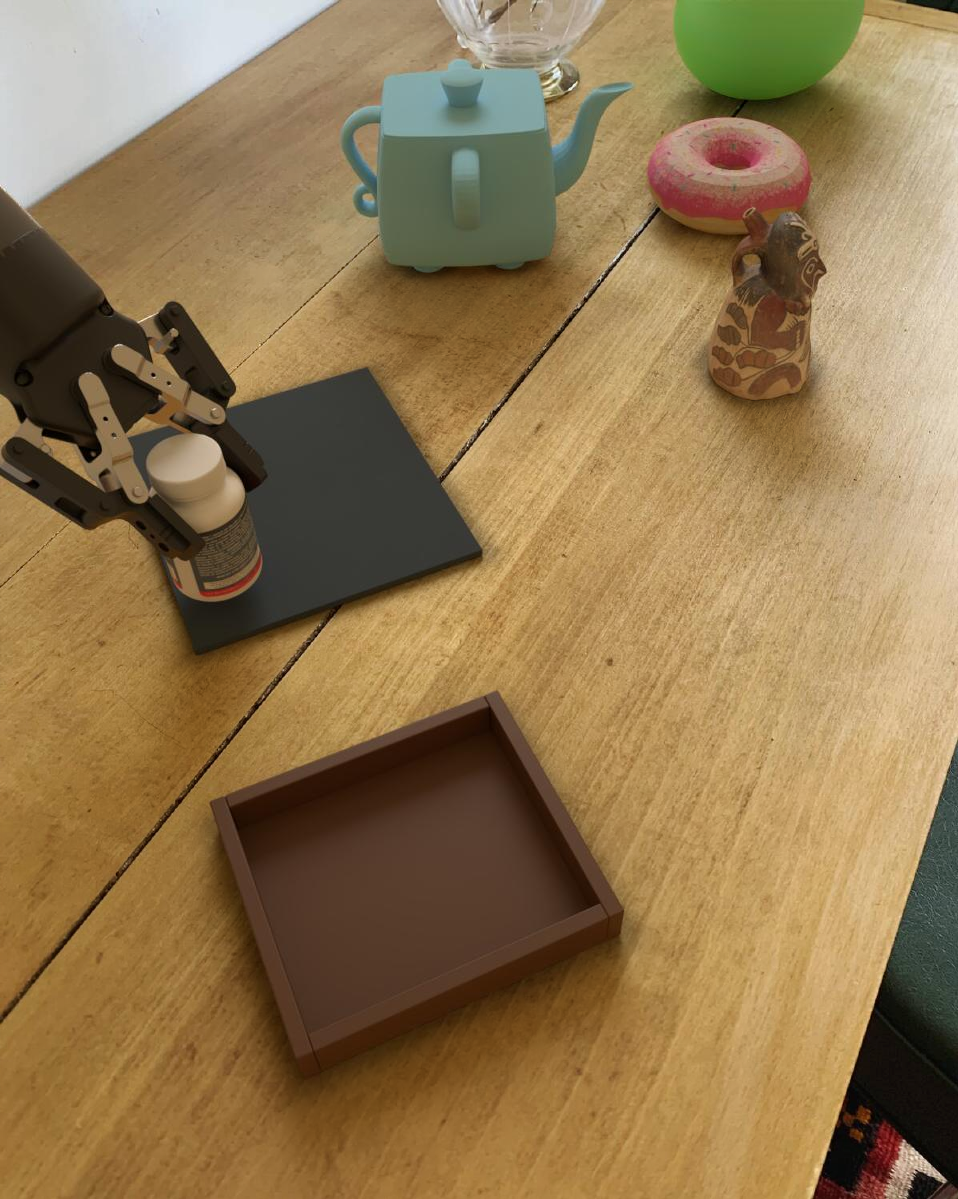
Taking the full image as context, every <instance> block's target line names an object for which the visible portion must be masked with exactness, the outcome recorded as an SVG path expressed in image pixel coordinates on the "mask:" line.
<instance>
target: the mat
mask: <svg viewBox="0 0 958 1199" xmlns="http://www.w3.org/2000/svg"><path fill="white" fill-rule="evenodd" d="M225 414H226V418H227V421H228V422H229V424H230V425H231V426H232V427H233V428H234V429H235V430H236V431H237V432H238V433H239V434H240V435H241V436H242V437H243V438H244V439H245V440H246V441H247V443H249V444H250V445H251V446H252V448H254V450H255V451H256V452H257V453H258V454H259V455H260V456H261V458H262V460H263V462H264V465H263V468H264V469H265V470H266V472H267V474H268V477H267V478H266V479H265V480H264V482H263V483H262V484H261V485H260V486H258V487H257V488H255V489H254V490H252V491H251V492H249V493H246V492H245V493H246V496H247V500H248V504H249V508H250V512H251V516H252V520H253V524H254V528H255V532H256V536H257V539H258V543H259V547H260V551H261V555H262V569H261V572H260V574H259V576H258V578H257V580H256V581H255V582H254V583H253V584H252V586H250V587H249V588H248V589H247V590H246V591H244V592H243V593H241V594H239V595H237V596H235V597H233V598H230V599H227V600H223V601H216V602H207V601H200V600H196V599H193V598H190V597H188V596H187V595H185V594H184V593H182V592H181V591H180V590H179V589H178V588H177V586H176V585H175V583H174V581H173V578H172V576H171V573H170V571H169V568H168V565H167V563H166V560H165V557H164V556H163V555H162V554H161V553H160V552H159V551H158V554H159V557H160V559H161V562H162V565H163V568H164V571H165V573H166V576H167V578H168V581H169V584H170V587H171V590H172V592H173V595H174V598H175V600H176V604H177V606H178V609H179V613H180V615H181V617H182V620H183V623H184V626H185V629H186V632H187V634H188V636H189V639H190V642H191V645H192V648H193V650H194V653H195V655H196V656H200V655H202V654H204V653H208V652H210V651H213V650H217V649H218V648H221V647H224V646H227V645H230V644H234V643H236V642H239V641H242V640H245V639H247V638H251V637H253V636H256V635H258V634H262V633H264V632H267V631H271V630H273V629H275V628H279V627H283V626H285V625H287V624H290V623H293V622H295V621H298V620H302V619H306V618H307V617H310V616H313V615H316V614H318V613H321V612H324V611H327V610H330V609H333V608H336V607H339V606H342V605H344V604H347V603H350V602H353V601H355V600H359V599H362V598H364V597H367V596H370V595H373V594H375V593H379V592H381V591H384V590H387V589H390V588H393V587H395V586H398V585H401V584H405V583H408V582H410V581H412V580H416V579H418V578H421V577H424V576H427V575H430V574H433V573H435V572H439V571H441V570H444V569H447V568H450V567H453V566H455V565H458V564H461V563H465V562H467V561H471V560H473V559H475V558H478V557H482V556H483V555H484V554H483V552H484V551H483V548H482V547H481V545H480V544H479V542H478V540H477V539H476V537H475V536H474V534H473V532H472V531H471V529H470V528H469V526H468V525H467V523H466V521H465V520H464V518H463V517H462V515H461V513H460V511H459V510H458V508H457V507H456V505H455V504H454V502H453V500H452V499H451V497H450V496H449V494H448V493H447V491H446V490H445V488H444V486H443V484H442V483H441V481H440V479H438V476H437V475H436V474H435V472H434V471H433V469H432V467H431V466H430V464H429V462H428V461H427V459H426V458H425V456H424V454H423V453H422V452H421V450H420V448H419V447H418V445H417V444H416V442H415V440H414V439H413V437H412V436H411V434H410V433H409V431H408V429H407V428H406V426H405V425H404V423H403V421H402V420H401V418H400V417H399V415H398V414H397V412H396V410H395V408H394V407H393V405H392V404H391V402H390V400H389V399H388V398H387V396H386V395H385V393H384V391H383V389H382V388H381V386H380V385H379V384H378V381H377V380H376V378H375V377H374V375H373V374H372V372H371V371H370V369H369V367H367V366H366V367H365V366H364V367H362V368H358V369H355V370H351V371H348V372H345V373H341V374H338V375H335V376H332V377H328V378H325V379H321V380H317V381H314V382H311V383H308V384H304V385H301V386H297V387H294V388H290V389H288V390H287V389H286V390H283V391H280V392H277V393H274V394H270V395H266V396H264V397H260V398H257V399H254V400H250V401H247V402H243V403H240V404H236V405H233V406H230V407H229V406H228V407H227V408H226V412H225ZM180 434H185V433H183V432H181V431H179V430H177V429H175V428H174V427H172V426H170V425H166V426H162V427H159V428H154V429H152V430H148V431H145V432H142V433H138V434H135V435H131V436H127V438H128V440H129V442H130V444H131V446H132V449H133V460H134V463H135V465H136V467H137V468H138V470H139V472H140V474H141V476H142V478H143V480H144V482H145V484H146V486H147V488H148V490H149V492H150V489H151V487H152V486H151V484H150V480H149V476H148V473H147V469H146V459H147V456H148V454H149V453H150V451H151V450H152V449H153V448H154V447H155V446H156V445H157V444H158V443H160V442H161V441H163V440H165V439H167V438H169V437H172V436H175V435H180Z"/></svg>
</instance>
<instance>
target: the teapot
mask: <svg viewBox="0 0 958 1199" xmlns="http://www.w3.org/2000/svg"><path fill="white" fill-rule="evenodd" d="M382 86H383V87H382V95H381V103H380V104H381V105H369V106H368V105H367V106H364V107H362V108H359V109H357V110H355V111H354V112H353V113H352V114H351V115H350V116H349V117H348V118H347V119H346V121H345V122H344V124H343V126H342V127H341V131H340V146H341V149H342V150H341V151H342V153H343V155H344V157H345V159H346V161H347V162H348V165H349V166H350V167H351V169H352V170H353V172H354V173H355V174H356V176H357V177H358V178H359V180H360V181H361V183H360V184H359V185H357V186H356V188H355V189H354V191H353V194H352V203H353V206H354V208H355V210H356V211H357V213H359V215H361V216H363V217H368V218H377V220H378V221H377V222H378V233H379V239H380V244H381V246H382V249H383V251H384V254H385V257H386V259H387V262H388V263H389V264H391V265H394V266H395V265H396V266H404V267H413V268H414V269H415V270H416V271H418V272H420V273H421V272H422V273H435V272H438V271H440V270H442V269H443V268H444V267H477V266H478V267H479V266H491V265H494V266H495V267H496V268H499V269H502V270H503V269H504V270H514V269H518V268H520V267H522V266H523V265H524V264H525V262H532V261H538V260H543V259H546V258H548V257H550V254H551V251H552V248H553V244H554V240H555V236H556V232H557V197H558V196H560V195H562V194H564V193H565V192H567V191H568V190H570V189H571V188H572V187H573V186H574V185H576V183H578V181H579V180H580V178H581V177H582V175H583V174H584V172H585V169H586V168H587V164H588V163H589V159H590V156H591V152H592V149H593V145H594V143H595V138H596V134H597V130H598V127H599V124H600V121H601V119H602V117H603V115H604V113H605V112H606V110H607V108H608V107H609V106H610V105H611V104H612V103H613V102H614V101H616V100H617V99H619V97H621V96H622V95H624V94H626V93H627V92H629V91H630V90H631V89H633V88H634V86H635V84H634V83H633V82H631V81H630V82H628V81H621V82H612V83H607V84H603V85H600V86H598V87H596V88H594V89H593V90H592V91H591V92H590V93H589V94H588V95H587V96H585V98H584V100H583V101H582V103H581V105H580V107H579V110H578V112H577V115H576V119H575V122H574V124H573V127H572V129H571V131H570V132H569V134H568V135H567V137H566V138H564V139H563V140H562V141H560V142H559V143H557V144H555V145H552V138H551V133H550V132H551V131H550V125H549V120H548V114H547V109H546V108H547V107H546V103H545V97H544V91H543V86H542V82H541V78H540V75H539V73H538V72H537V70H534V69H528V68H474V67H473V65H472V63H471V62H470V61H469V60H467V59H465V58H456V59H453V60H452V61H450V62H449V64H448V67H447V69H445V70H430V71H429V70H427V71H417V72H406V73H405V72H403V73H398V74H391V75H387V76H386V78H385V79H384V81H383V85H382ZM371 124H379V126H378V140H377V152H376V153H377V155H376V174H375V173H374V171H373V170H372V168H371V167H370V166H369V164H368V163H367V162H366V160H365V159H364V157H363V156H362V155H361V153H360V151H359V149H358V147H357V145H356V142H355V140H354V134H355V132H357V130H359V129H361V128H362V127H364V126H367V125H371ZM367 194H371V196H372V197H373V199H374V200H372V201H369V200H366V199H364V197H363V196H364V195H367Z"/></svg>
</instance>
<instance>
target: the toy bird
mask: <svg viewBox="0 0 958 1199" xmlns="http://www.w3.org/2000/svg"><path fill="white" fill-rule="evenodd" d="M865 6H866V0H675V5H674V10H673V24H672V26H673V36H674V41H675V45H676V48H677V51H678V53H679V55H680V58H681V60H682V62H683V64H684V65H685V67H686V68H687V70H688V71H689V72H690V73H691V75H692V76H693V77H694V78H695V79H696V80H697V81H698V82H700V83H701V84H702V85H704V86H705V87H706V88H708V89H710V90H712V91H713V92H716V93H718V94H720V95H723V96H725V97H728V98H733V99H738V100H746V101H747V100H748V101H762V100H772V99H778V98H782V97H786V96H789V95H792V94H796V93H798V92H801V91H804V90H805V89H808V87H810V86H812V85H814V84H816V83H817V82H819V81H820V80H822V79H823V78H824V77H826V76H827V75H828V74H829V73H830V72H831V71H832V70H834V69H835V68H836V66H838V64H839V63H840V62H841V61H842V60H843V59H844V57H845V56H846V54H847V53H848V51H849V50H850V49H851V47H852V45H853V43H854V42H855V40H856V37H857V35H858V33H859V30H860V27H861V25H862V21H863V17H864V13H865V8H866V7H865Z"/></svg>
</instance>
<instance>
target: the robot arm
mask: <svg viewBox="0 0 958 1199" xmlns="http://www.w3.org/2000/svg"><path fill="white" fill-rule="evenodd" d="M186 310H187V309H185V307H184V306H183V305H182V304H181V303H180V302H178V301H176V300H169V301H167V302H166V303H165V304H164V306H162V307H160V309H158V311H157V312H155V313H154V314H152V315H149V316H148V317H145V318H144V319H141V320H140V321H136V320H134V319H133V318H130V317H128V316H126V315H123V314H122V313H120V312H119V311H117V310H115V308H114V307H112V305H111V304H110V302H109V300H108V298H107V296H106V294H105V292H104V290H103V288H102V287H101V286H100V285H99V284H98V283H97V282H96V281H95V280H94V279H93V278H92V277H91V276H90V275H89V274H88V273H87V272H86V271H85V270H84V269H83V267H81V266H80V264H79V263H78V262H76V260H74V258H72V256H71V255H70V254H69V253H68V252H67V250H65V249H64V248H63V247H62V246H61V245H60V244H59V243H58V242H57V241H56V240H55V238H53V236H51V234H50V233H49V232H48V231H47V230H46V229H45V228H44V227H43V226H42V225H40V223H39V222H38V221H37V220H36V219H35V218H34V217H33V216H32V215H31V214H30V213H29V212H28V211H27V210H26V208H24V207H23V206H22V205H21V203H19V201H18V200H16V199H15V197H13V195H12V194H11V193H10V192H9V191H8V190H7V189H6V188H5V187H4V186H3V185H1V184H0V395H1V396H2V397H4V398H5V399H6V400H7V401H8V402H9V403H10V405H11V406H12V408H13V410H14V412H15V415H16V417H17V420H18V422H19V424H20V425H19V427H18V428H17V429H16V431H15V432H14V433H13V435H12V437H11V438H9V439H8V440H7V441H6V442H5V443H4V445H2V447H1V448H0V477H2V478H3V479H5V480H6V481H8V482H10V483H11V484H13V485H14V486H16V487H17V488H19V489H21V490H22V491H24V492H25V493H27V494H28V495H29V496H32V497H33V498H35V499H36V500H38V501H39V502H41V503H42V504H44V505H46V506H47V507H49V508H50V509H52V510H54V511H55V512H57V513H58V514H60V515H61V516H63V517H64V518H66V519H68V520H69V521H71V522H72V523H74V524H75V525H77V526H78V527H81V528H82V529H83V530H85V531H93V530H96V529H97V528H99V527H101V526H103V525H106V524H108V523H110V522H112V521H117V520H123V521H125V522H127V523H128V524H129V525H130V526H131V527H133V528H134V529H135V530H136V532H138V533H139V534H140V535H142V537H143V538H144V539H146V541H148V542H149V543H150V544H151V545H152V546H153V547H154V548H155V549H156V550H157V552H158V553H159V552H160V553H161V554H162V555H163V556H166V557H168V558H170V559H172V560H173V559H174V558H176V557H177V558H179V559H180V560H182V561H188V560H189V559H191V558H193V557H194V556H196V555H197V554H198V553H199V552H200V551H201V550H202V549H203V548H204V547H205V545H206V543H205V541H204V539H203V538H202V537H201V536H200V535H199V534H198V533H197V532H196V531H195V530H194V529H193V528H192V527H191V526H190V525H189V524H188V523H187V522H186V521H185V520H183V519H182V518H181V517H180V516H179V515H178V514H177V513H176V512H175V511H174V510H173V509H172V508H171V507H170V506H169V505H168V504H167V503H166V502H165V501H164V500H163V499H162V498H161V497H160V496H159V495H158V494H157V493H156V494H155V495H153V496H152V497H150V496H149V490H148V488H147V486H146V484H145V482H144V480H143V478H142V476H141V474H140V472H139V470H138V468H137V467H136V465H135V463H134V460H133V449H132V446H131V444H130V442H129V440H128V436H127V433H128V432H129V431H130V430H131V429H132V428H133V427H134V425H135V424H138V422H139V421H140V420H141V419H142V418H144V419H147V420H148V421H150V422H153V423H154V424H157V425H166V426H169V425H170V426H172V427H174V428H175V429H177V430H179V431H181V432H183V433H185V434H187V433H194V434H201V435H205V436H207V437H210V438H212V439H213V440H214V441H215V442H217V444H218V445H219V447H220V449H221V451H222V455H223V458H224V461H225V464H226V466H227V467H229V468H230V469H232V470H233V471H234V472H235V473H236V474H237V475H238V476H239V478H240V479H241V481H242V484H243V486H244V489H245V492H246V493H249V492H251V491H252V490H254V489H255V488H257V487H258V486H260V485H261V484H262V483H263V482H264V480H265V479H266V478H267V477H268V474H267V472H266V470H265V469H264V468H263V465H264V462H263V460H262V458H261V456H260V455H259V454H258V453H257V452H256V451H255V450H254V448H252V446H251V445H250V444H249V443H247V441H246V440H245V439H244V438H243V437H242V436H241V435H240V434H239V433H238V432H237V431H236V430H235V429H234V428H233V427H232V426H231V425H230V424H229V422H228V421H227V418H226V414H225V412H226V408H228V405H229V402H230V400H231V398H232V397H233V396H234V395H236V393H237V385H236V383H235V381H234V379H233V378H232V377H231V376H230V373H229V372H228V370H227V369H226V368H225V366H224V365H223V364H222V362H221V360H220V359H219V357H218V356H217V355H216V353H215V352H214V350H213V348H212V347H211V346H210V345H209V343H208V341H207V340H206V338H205V337H204V336H203V334H202V333H201V331H200V330H199V328H198V326H197V325H196V324H195V322H194V321H193V320H192V318H191V316H190V315H189V313H188V312H187V311H186ZM150 347H151V348H152V350H153V352H154V353H155V354H156V355H163V356H164V357H165V359H166V360H167V362H168V363H169V364H170V367H171V368H172V369H173V370H174V372H175V373H176V374H177V375H175V374H173V373H171V372H169V371H168V370H165V369H163V368H162V367H160V366H158V365H157V364H155V363H154V360H153V356H152V352H151V348H150ZM44 438H47V439H50V440H55V441H60V442H64V443H66V444H67V443H68V444H71V446H72V448H73V450H74V452H75V454H76V456H77V458H78V460H79V462H80V464H81V465H82V467H83V468H82V469H83V470H84V472H85V473H86V475H87V477H88V478H89V479H90V480H91V481H94V482H95V483H96V485H95V484H94V483H92V482H91V481H89V480H88V479H86V478H84V477H83V476H81V475H80V474H78V473H77V472H75V471H73V470H72V469H71V468H70V467H68V466H66V465H65V464H64V463H62V462H60V461H59V460H57V459H55V457H54V451H53V449H52V447H51V446H50V445H49V444H47V443H46V442H45V440H44Z"/></svg>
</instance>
